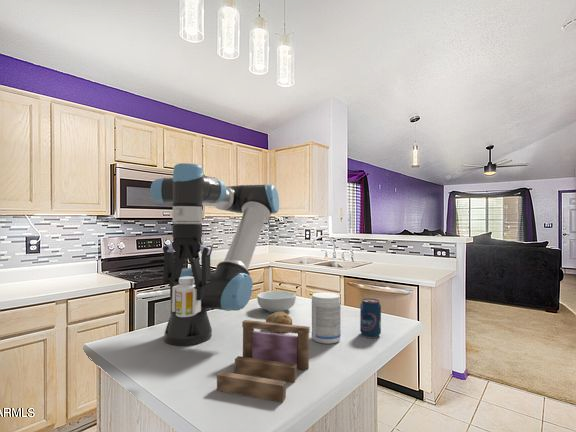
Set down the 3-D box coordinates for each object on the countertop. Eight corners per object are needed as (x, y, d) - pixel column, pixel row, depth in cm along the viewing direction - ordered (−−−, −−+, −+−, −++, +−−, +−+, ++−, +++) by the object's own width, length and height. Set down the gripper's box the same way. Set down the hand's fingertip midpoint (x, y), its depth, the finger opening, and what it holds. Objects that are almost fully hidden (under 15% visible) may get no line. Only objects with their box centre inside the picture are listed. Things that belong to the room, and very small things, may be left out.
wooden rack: (211, 389, 76) (211, 342, 76) (245, 356, 94) (245, 319, 94) (289, 403, 70) (290, 352, 70) (309, 366, 88) (310, 326, 89)
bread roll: (263, 340, 117) (260, 322, 114) (270, 320, 126) (268, 303, 123) (290, 343, 115) (288, 325, 112) (295, 322, 124) (294, 305, 121)
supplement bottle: (199, 311, 89) (199, 275, 89) (194, 317, 83) (194, 279, 83) (179, 311, 88) (179, 275, 88) (172, 317, 83) (173, 279, 83)
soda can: (357, 336, 112) (358, 301, 112) (363, 330, 118) (363, 297, 118) (378, 340, 109) (378, 303, 109) (382, 333, 115) (382, 299, 115)
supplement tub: (346, 341, 107) (346, 296, 108) (324, 346, 102) (324, 299, 102) (327, 332, 115) (327, 290, 116) (305, 337, 110) (306, 293, 110)
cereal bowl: (279, 303, 155) (280, 288, 155) (303, 311, 142) (303, 295, 143) (249, 309, 144) (249, 293, 145) (272, 318, 132) (272, 300, 132)
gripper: (148, 222, 85) (147, 312, 85) (211, 223, 80) (210, 318, 79) (167, 222, 92) (166, 304, 92) (225, 223, 87) (224, 310, 87)
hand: (186, 311), depth 86 cm, fingers closed on supplement bottle, 5 cm apart
